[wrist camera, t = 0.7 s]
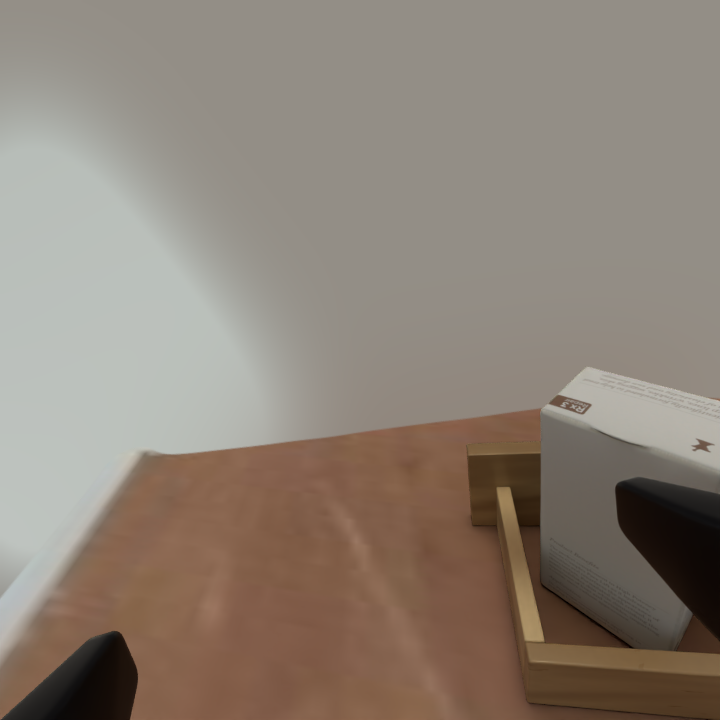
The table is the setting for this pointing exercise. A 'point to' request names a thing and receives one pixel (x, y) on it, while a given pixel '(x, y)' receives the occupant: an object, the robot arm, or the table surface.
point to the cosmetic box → (598, 502)
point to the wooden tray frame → (575, 662)
